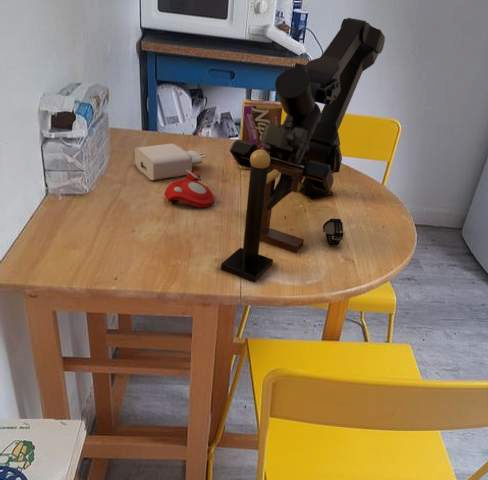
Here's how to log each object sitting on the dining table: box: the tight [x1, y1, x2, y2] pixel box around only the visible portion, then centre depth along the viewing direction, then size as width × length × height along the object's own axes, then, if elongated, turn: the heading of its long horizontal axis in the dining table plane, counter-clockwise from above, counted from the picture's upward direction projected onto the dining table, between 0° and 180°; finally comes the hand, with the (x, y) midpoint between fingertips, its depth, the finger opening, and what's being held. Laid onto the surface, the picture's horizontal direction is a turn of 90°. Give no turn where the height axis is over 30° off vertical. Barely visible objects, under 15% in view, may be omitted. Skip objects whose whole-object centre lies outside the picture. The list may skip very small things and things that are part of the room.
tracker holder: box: [164, 170, 215, 208], centre depth 102 cm, size 12×4×10 cm
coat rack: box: [220, 150, 280, 283], centre depth 79 cm, size 10×6×20 cm, turn 154°
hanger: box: [260, 161, 305, 254], centre depth 88 cm, size 3×9×14 cm, turn 64°
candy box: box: [238, 98, 283, 170], centre depth 116 cm, size 9×4×15 cm, turn 99°
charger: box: [134, 143, 207, 181], centre depth 112 cm, size 5×9×15 cm
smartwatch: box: [322, 218, 345, 247], centre depth 92 cm, size 4×5×5 cm
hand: (262, 207), depth 88 cm, fingers closed on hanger, 2 cm apart
